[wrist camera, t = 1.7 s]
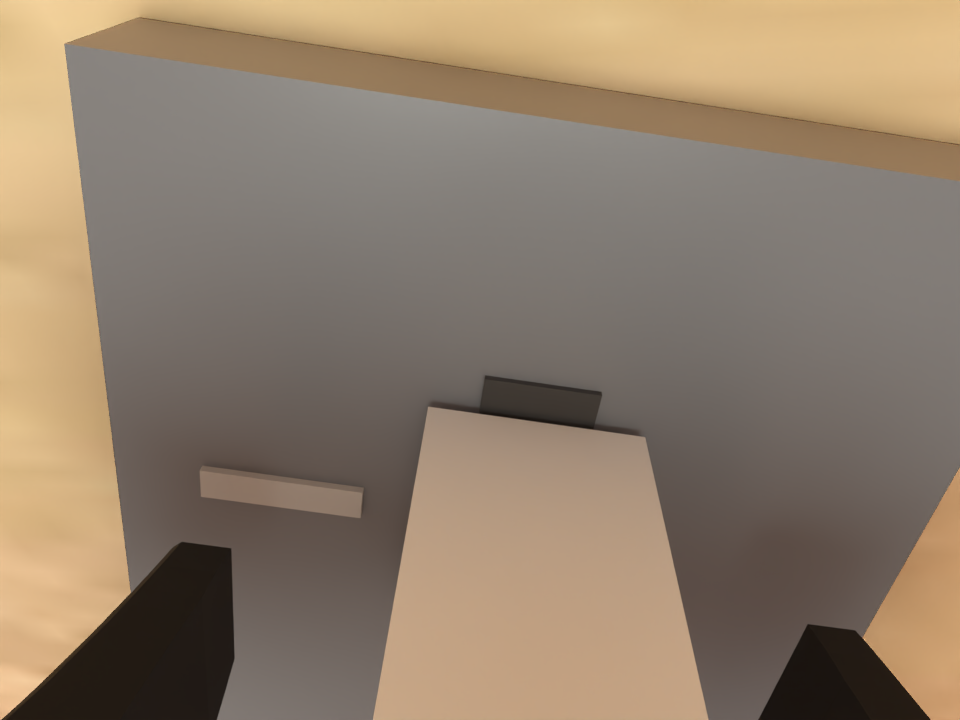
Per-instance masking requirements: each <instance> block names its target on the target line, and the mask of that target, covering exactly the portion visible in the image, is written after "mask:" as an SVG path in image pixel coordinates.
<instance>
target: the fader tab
mask: <svg viewBox="0 0 960 720" xmlns="http://www.w3.org/2000/svg"><path fill="white" fill-rule="evenodd" d="M373 720H708V715H707V711H706V706H705V702H704V697H703V693H702V689H701V684H700V680H699V675H698V671H697V666H696V662H695V657H694V653H693V648H692V644H691V639H690V635H689V631H688V626H687V622H686V617H685V613H684V608H683V604H682V599H681V595H680V590H679V586H678V581H677V577H676V573H675V568H674V564H673V559H672V555H671V550H670V546H669V541H668V537H667V532H666V528H665V523H664V519H663V515H662V510H661V506H660V501H659V497H658V492H657V488H656V483H655V479H654V474H653V470H652V465H651V461H650V457H649V452H648V448H647V443H646V439H645V437H641V436H634V435H627V434H620V433H613V432H605V431H598V430H591V429H584V428H577V427H570V426H563V425H556V424H548V423H541V422H534V421H527V420H520V419H513V418H506V417H499V416H492V415H484V414H477V413H470V412H463V411H456V410H449V409H442V408H435V407H428V411H427V416H426V422H425V428H424V433H423V439H422V445H421V450H420V456H419V462H418V467H417V473H416V478H415V484H414V490H413V495H412V501H411V507H410V512H409V518H408V524H407V529H406V535H405V541H404V546H403V552H402V558H401V563H400V569H399V575H398V580H397V586H396V592H395V597H394V603H393V609H392V614H391V620H390V626H389V631H388V637H387V642H386V648H385V654H384V659H383V665H382V671H381V676H380V682H379V688H378V693H377V699H376V705H375V710H374V716H373Z"/></svg>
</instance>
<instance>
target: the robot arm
mask: <svg viewBox="0 0 960 720" xmlns="http://www.w3.org/2000/svg"><path fill="white" fill-rule="evenodd" d="M234 659H235V653H234V619H233V586H232V552H231V548H226V547H218V546H210V545H203V544H195V543H188V542H180V543H179V544H177V545H176V546H174V547H173V548H172V549H171V550H170V551H169V552H168V553H167V554H166V555H165V556H164V558H163V559H162V560H161V561H160V562H159V563H158V564H157V565H156V566H155V567H154V569H153V570H152V571H151V572H150V573H149V574H148V575H147V576H146V577H145V578H144V579H143V581H142V582H141V583H140V584H139V585H138V586H137V587H136V588H135V589H134V590H133V591H132V592H131V593H130V595H129V596H128V597H127V598H126V599H125V600H124V601H123V602H122V603H121V604H120V605H119V606H118V607H117V608H116V609H115V610H114V611H113V612H112V613H111V614H110V615H109V616H108V617H107V618H106V620H105V621H104V622H103V623H102V624H101V625H100V626H99V627H98V628H97V629H96V630H95V631H94V632H93V633H92V634H91V635H90V636H89V637H88V638H87V639H86V640H85V641H84V642H83V643H82V644H81V645H80V646H79V647H78V648H77V649H76V650H75V651H74V652H73V653H72V654H71V655H69V656H68V657H67V658H66V659H65V660H64V661H63V662H62V663H61V664H60V665H59V666H58V667H57V668H56V669H55V670H54V671H53V672H52V673H51V674H50V675H49V676H48V677H47V678H46V679H45V680H44V681H43V682H42V683H41V684H40V685H39V686H38V687H37V688H36V689H35V690H34V691H32V692H31V693H30V694H29V695H28V696H27V697H26V698H25V699H24V700H23V701H22V702H21V703H20V704H18V705H17V706H16V707H15V708H14V709H13V710H12V711H11V712H10V713H8V714H7V715H6V716H5V717H4V718H3V719H2V720H217V717H218V714H219V711H220V708H221V704H222V701H223V697H224V694H225V690H226V687H227V684H228V680H229V677H230V673H231V670H232V666H233V663H234ZM758 720H930V718H929V717H928V716H927V715H926V714H925V712H924V711H923V710H922V709H921V708H920V706H919V705H918V704H917V703H916V702H915V700H914V699H913V698H912V697H911V696H910V694H909V693H908V692H907V691H906V689H905V688H904V687H903V686H902V685H901V683H900V682H899V681H898V680H897V679H896V677H895V676H894V675H893V674H892V673H891V671H890V670H889V669H888V668H887V667H886V665H885V664H884V663H883V662H882V661H881V659H880V658H879V657H878V656H877V655H876V654H875V652H874V651H873V650H872V649H871V648H870V647H869V645H868V644H867V643H866V642H865V641H864V640H863V638H862V637H861V636H860V635H859V634H858V633H857V632H856V631H855V630H850V629H842V628H834V627H827V626H819V625H811V624H807V626H806V628H805V630H804V632H803V634H802V636H801V638H800V640H799V642H798V644H797V646H796V648H795V650H794V652H793V653H792V655H791V657H790V659H789V661H788V663H787V665H786V667H785V669H784V671H783V673H782V675H781V677H780V679H779V681H778V683H777V684H776V686H775V688H774V690H773V692H772V694H771V696H770V698H769V700H768V702H767V704H766V706H765V708H764V710H763V712H762V713H761V715H760V717H759V719H758Z"/></svg>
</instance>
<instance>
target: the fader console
mask: <svg viewBox="0 0 960 720" xmlns="http://www.w3.org/2000/svg"><path fill="white" fill-rule="evenodd" d="M65 53H66V61H67V69H68V77H69V86H70V94H71V102H72V110H73V119H74V127H75V135H76V143H77V152H78V160H79V168H80V176H81V185H82V193H83V201H84V209H85V218H86V226H87V234H88V242H89V251H90V259H91V267H92V275H93V284H94V292H95V300H96V308H97V317H98V325H99V333H100V341H101V350H102V358H103V366H104V374H105V383H106V391H107V399H108V407H109V416H110V424H111V432H112V440H113V449H114V457H115V465H116V473H117V482H118V490H119V498H120V506H121V515H122V523H123V531H124V539H125V548H126V556H127V564H128V572H129V581H130V589H131V592H132V591H133V590H134V589H135V588H136V587H137V586H138V585H139V584H140V583H141V582H142V581H143V579H144V578H145V577H146V576H147V575H148V574H149V573H150V572H151V571H152V570H153V569H154V567H155V566H156V565H157V564H158V563H159V562H160V561H161V560H162V559H163V558H164V556H165V555H166V554H167V553H168V552H169V551H170V550H171V549H172V548H173V547H174V546H176V545H177V544H179V543H180V542H188V543H195V544H203V545H210V546H218V547H226V548H231V552H232V586H233V619H234V653H235V659H234V663H233V666H232V670H231V673H230V677H229V680H228V684H227V687H226V690H225V694H224V697H223V701H222V704H221V708H220V711H219V714H218V717H217V720H373V716H374V710H375V705H376V699H377V693H378V688H379V682H380V676H381V671H382V665H383V659H384V654H385V648H386V642H387V637H388V631H389V626H390V620H391V614H392V609H393V603H394V597H395V592H396V586H397V580H398V575H399V569H400V563H401V558H402V552H403V546H404V541H405V535H406V529H407V524H408V518H409V512H410V507H411V501H412V495H413V490H414V484H415V478H416V473H417V467H418V462H419V456H420V450H421V445H422V439H423V433H424V428H425V422H426V416H427V411H428V407H435V408H442V409H449V410H456V411H463V412H470V413H477V414H484V415H492V416H499V417H506V418H513V419H520V420H527V421H534V422H541V423H548V424H556V425H563V426H570V427H577V428H584V429H591V430H598V431H605V432H613V433H620V434H627V435H634V436H641V437H645V439H646V443H647V448H648V452H649V457H650V461H651V465H652V470H653V474H654V479H655V483H656V488H657V492H658V497H659V501H660V506H661V510H662V515H663V519H664V523H665V528H666V532H667V537H668V541H669V546H670V550H671V555H672V559H673V564H674V568H675V573H676V577H677V581H678V586H679V590H680V595H681V599H682V604H683V608H684V613H685V617H686V622H687V626H688V631H689V635H690V639H691V644H692V648H693V653H694V657H695V662H696V666H697V671H698V675H699V680H700V684H701V689H702V693H703V697H704V702H705V706H706V711H707V715H708V720H758V719H759V717H760V715H761V713H762V712H763V710H764V708H765V706H766V704H767V702H768V700H769V698H770V696H771V694H772V692H773V690H774V688H775V686H776V684H777V683H778V681H779V679H780V677H781V675H782V673H783V671H784V669H785V667H786V665H787V663H788V661H789V659H790V657H791V655H792V653H793V652H794V650H795V648H796V646H797V644H798V642H799V640H800V638H801V636H802V634H803V632H804V630H805V628H806V626H807V624H811V625H819V626H827V627H834V628H842V629H850V630H855V631H856V632H857V633H858V634H859V635H860V636H861V637H863V635H864V634H865V632H866V630H867V628H868V627H869V625H870V623H871V621H872V620H873V618H874V616H875V614H876V613H877V611H878V609H879V607H880V606H881V604H882V602H883V600H884V599H885V597H886V595H887V593H888V592H889V590H890V588H891V586H892V585H893V583H894V581H895V579H896V578H897V576H898V574H899V572H900V571H901V569H902V567H903V565H904V564H905V562H906V560H907V558H908V557H909V555H910V553H911V551H912V550H913V548H914V546H915V544H916V543H917V541H918V539H919V537H920V536H921V534H922V532H923V530H924V529H925V527H926V525H927V523H928V522H929V520H930V518H931V516H932V515H933V513H934V511H935V509H936V508H937V506H938V504H939V502H940V501H941V499H942V497H943V495H944V494H945V492H946V490H947V488H948V487H949V485H950V483H951V481H952V480H953V478H954V476H955V474H956V473H957V471H958V469H959V467H960V145H957V144H950V143H944V142H937V141H931V140H925V139H918V138H912V137H905V136H899V135H892V134H886V133H879V132H873V131H866V130H860V129H854V128H847V127H841V126H834V125H828V124H821V123H815V122H808V121H802V120H796V119H789V118H783V117H776V116H770V115H763V114H757V113H750V112H744V111H738V110H731V109H725V108H718V107H712V106H705V105H699V104H692V103H686V102H680V101H673V100H667V99H660V98H654V97H647V96H641V95H634V94H628V93H622V92H615V91H609V90H602V89H596V88H589V87H583V86H576V85H570V84H563V83H557V82H551V81H544V80H538V79H531V78H525V77H518V76H512V75H505V74H499V73H493V72H486V71H480V70H473V69H467V68H460V67H454V66H447V65H441V64H435V63H428V62H422V61H415V60H409V59H402V58H396V57H389V56H383V55H377V54H370V53H364V52H357V51H351V50H344V49H338V48H331V47H325V46H319V45H312V44H306V43H299V42H293V41H286V40H280V39H273V38H267V37H260V36H254V35H248V34H241V33H235V32H228V31H222V30H215V29H209V28H202V27H196V26H190V25H183V24H177V23H170V22H164V21H157V20H151V19H144V18H136V19H133V20H130V21H127V22H125V23H122V24H119V25H116V26H113V27H110V28H108V29H105V30H102V31H99V32H96V33H93V34H91V35H88V36H85V37H82V38H79V39H76V40H74V41H71V42H68V43H65Z"/></svg>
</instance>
